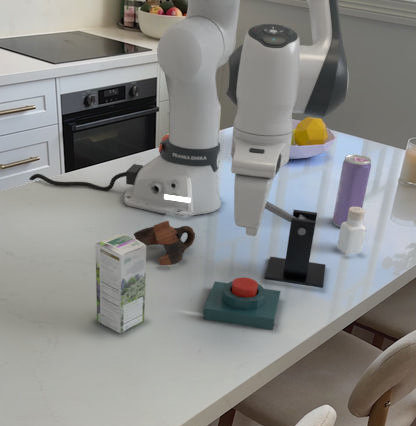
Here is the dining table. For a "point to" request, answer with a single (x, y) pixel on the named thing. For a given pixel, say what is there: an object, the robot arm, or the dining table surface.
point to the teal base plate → (242, 306)
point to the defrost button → (244, 287)
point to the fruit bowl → (310, 138)
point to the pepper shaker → (352, 232)
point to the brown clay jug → (167, 240)
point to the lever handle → (282, 212)
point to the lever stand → (298, 255)
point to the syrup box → (120, 282)
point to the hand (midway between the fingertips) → (251, 232)
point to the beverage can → (351, 186)
